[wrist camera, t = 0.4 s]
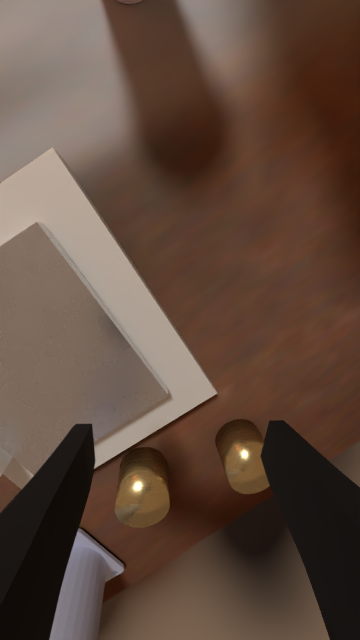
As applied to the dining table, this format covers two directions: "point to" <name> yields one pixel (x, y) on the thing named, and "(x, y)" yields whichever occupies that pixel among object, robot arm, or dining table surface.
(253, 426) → the brass weight
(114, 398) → the scale pan
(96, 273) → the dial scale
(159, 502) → the brass weight
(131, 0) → the smoothie
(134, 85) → the dining table surface
